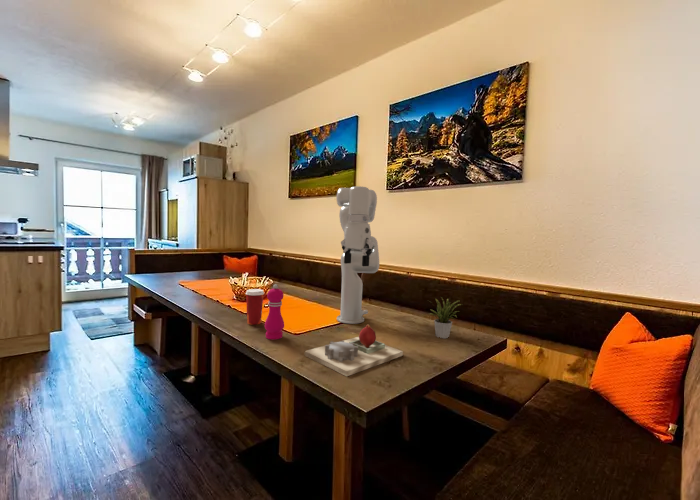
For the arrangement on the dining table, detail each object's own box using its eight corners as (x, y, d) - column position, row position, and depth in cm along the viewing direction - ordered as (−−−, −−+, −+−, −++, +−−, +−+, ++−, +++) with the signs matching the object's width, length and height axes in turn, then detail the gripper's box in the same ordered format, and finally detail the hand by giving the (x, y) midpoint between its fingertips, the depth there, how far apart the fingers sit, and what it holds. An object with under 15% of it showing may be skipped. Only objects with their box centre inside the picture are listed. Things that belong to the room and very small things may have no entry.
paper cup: (267, 322, 148) (268, 290, 147) (253, 326, 141) (254, 292, 140) (254, 319, 152) (255, 288, 151) (240, 323, 145) (241, 290, 144)
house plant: (470, 337, 139) (472, 297, 138) (454, 345, 129) (457, 302, 128) (438, 329, 149) (440, 292, 148) (421, 335, 139) (423, 295, 137)
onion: (357, 344, 121) (358, 321, 120) (374, 344, 121) (375, 322, 121) (359, 350, 115) (360, 326, 114) (376, 350, 115) (377, 327, 115)
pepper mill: (279, 341, 125) (280, 286, 124) (260, 338, 126) (262, 285, 125) (286, 335, 132) (288, 283, 131) (269, 333, 134) (270, 282, 132)
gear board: (360, 339, 130) (360, 328, 130) (402, 355, 116) (403, 342, 115) (304, 355, 112) (305, 342, 112) (346, 376, 98) (347, 361, 97)
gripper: (382, 220, 126) (379, 266, 128) (349, 219, 139) (347, 261, 140) (368, 219, 121) (365, 267, 122) (335, 219, 134) (333, 262, 135)
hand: (356, 264), depth 131 cm, fingers open, 9 cm apart
